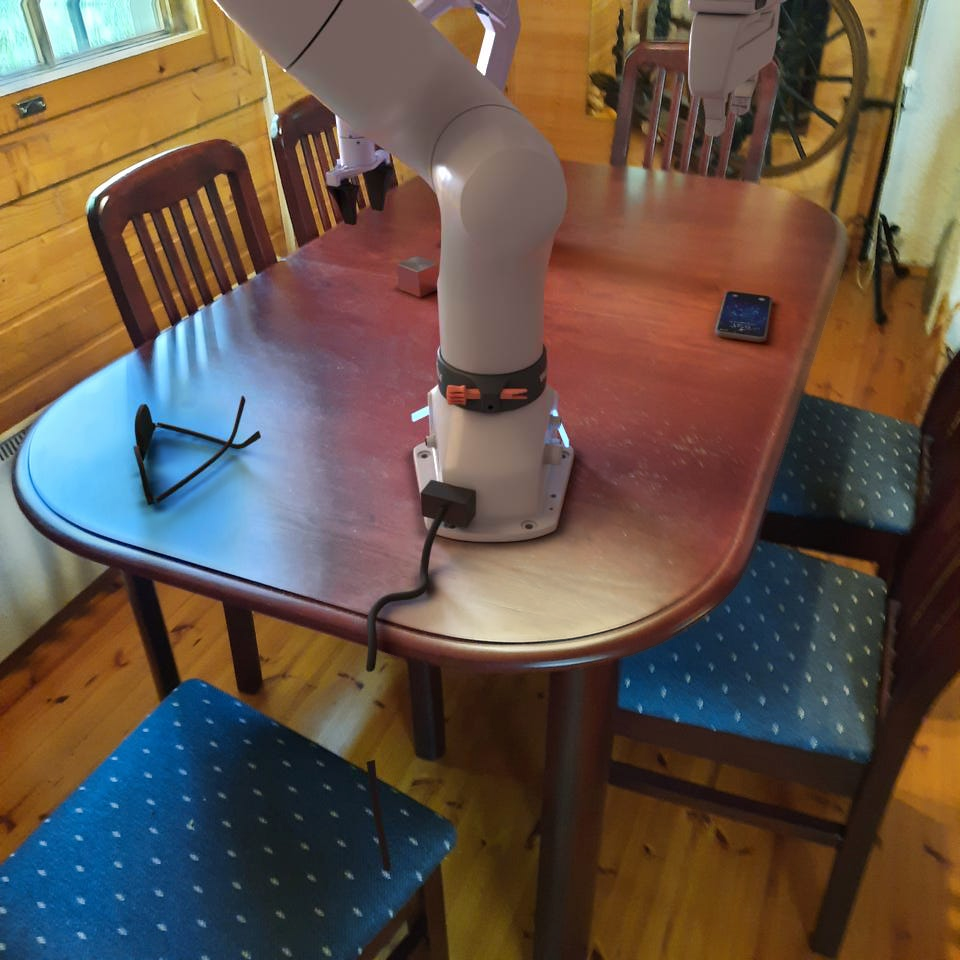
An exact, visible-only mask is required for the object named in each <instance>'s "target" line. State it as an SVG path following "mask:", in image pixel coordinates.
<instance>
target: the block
mask: <svg viewBox="0 0 960 960" xmlns="http://www.w3.org/2000/svg"><path fill="white" fill-rule="evenodd" d="M396 269H397V281H398V282H397V283H398V289H399V290H400V291H403V292H405V293H408V294H410V295H413V296H416V297H418V298H421V297H424V296H426V295H428V294H431V293H433V292H436V291H437V281H438V277H439V272H440V270H439V263H438V262H435V261H432V260H430V259H428V258H427V259H426V258H424V257H421V256H418V255H416V256H413V257H410V258H408V259H406V260H403V261H400V262H398V263H396Z"/></svg>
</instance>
